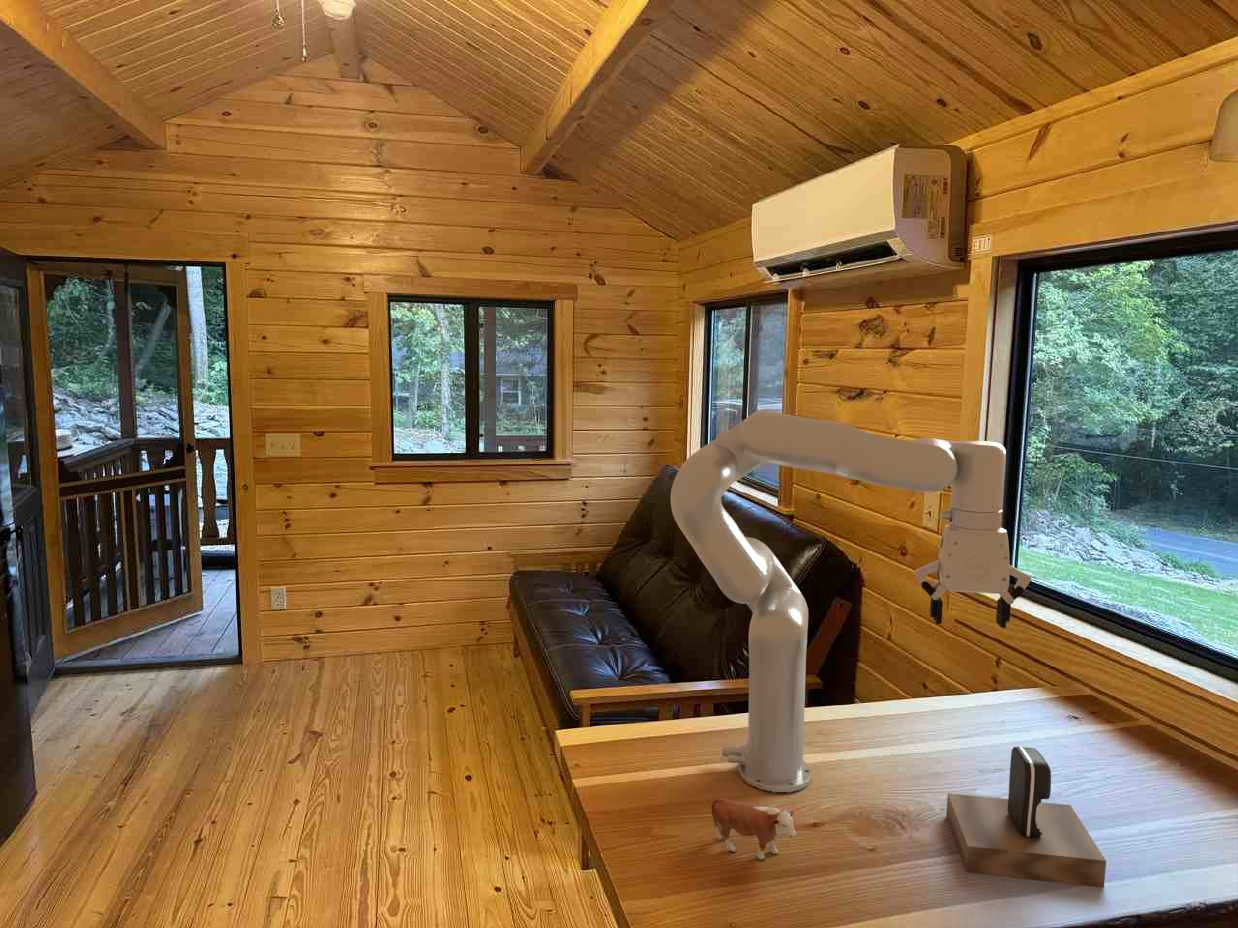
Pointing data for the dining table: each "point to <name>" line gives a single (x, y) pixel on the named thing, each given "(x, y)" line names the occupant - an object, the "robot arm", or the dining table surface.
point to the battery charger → (1027, 788)
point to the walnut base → (1024, 842)
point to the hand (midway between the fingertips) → (968, 623)
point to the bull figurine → (751, 823)
